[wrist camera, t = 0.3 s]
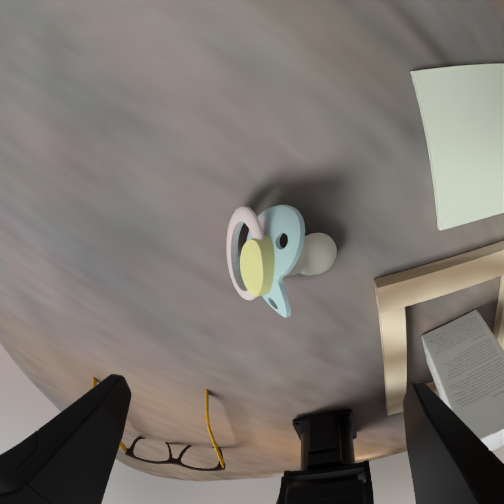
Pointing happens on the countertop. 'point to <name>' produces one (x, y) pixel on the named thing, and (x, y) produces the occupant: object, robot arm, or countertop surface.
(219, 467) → the eyeglasses
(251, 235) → the pacifier
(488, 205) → the sage mat
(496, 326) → the wooden frame
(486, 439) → the skincare box
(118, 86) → the countertop surface
